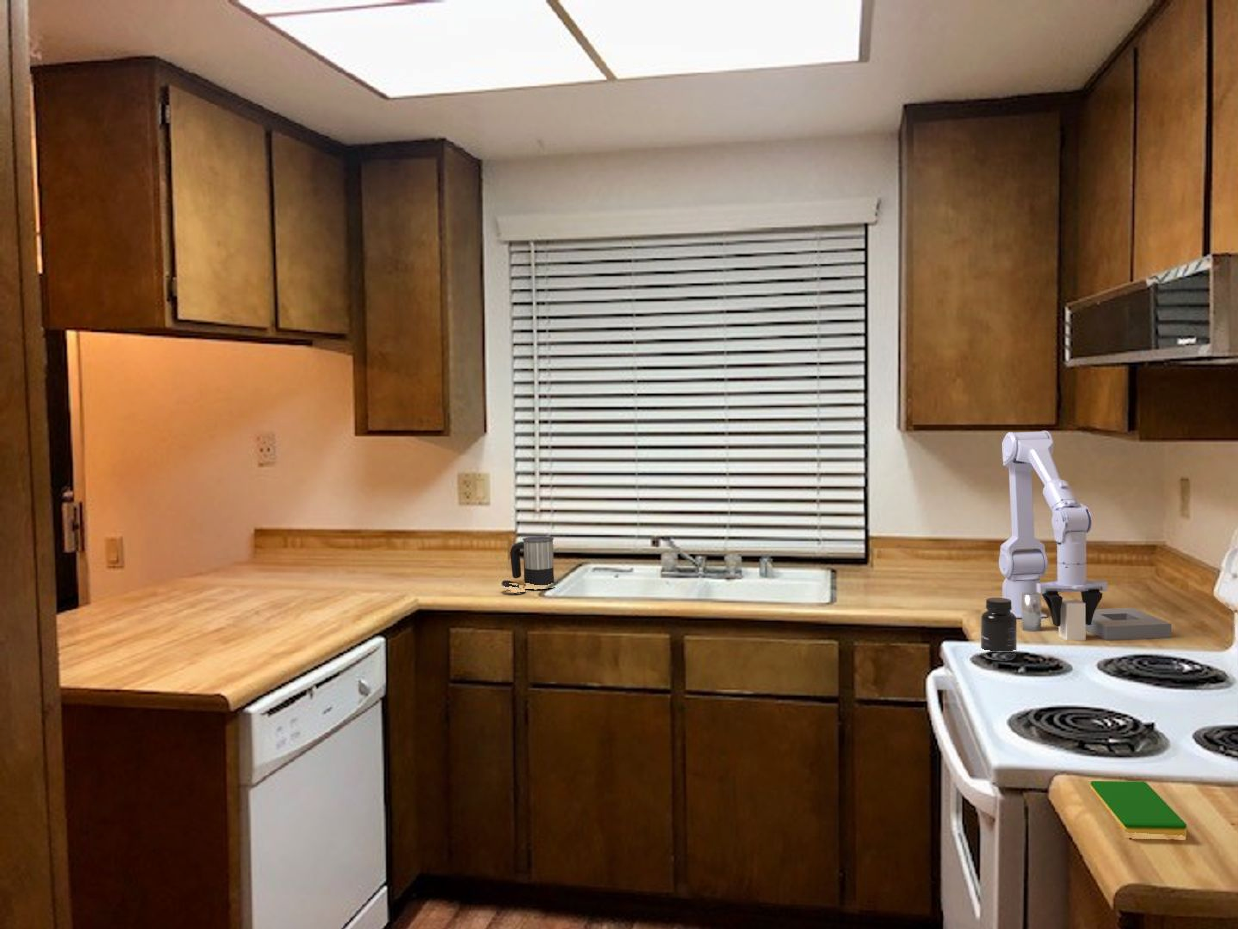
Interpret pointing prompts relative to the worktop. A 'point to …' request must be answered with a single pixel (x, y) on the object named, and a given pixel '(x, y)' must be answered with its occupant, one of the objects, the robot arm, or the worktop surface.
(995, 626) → the supplement bottle
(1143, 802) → the dish sponge
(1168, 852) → the worktop surface
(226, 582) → the worktop surface
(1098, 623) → the socket plate
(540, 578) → the milk frother
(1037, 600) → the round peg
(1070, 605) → the square peg
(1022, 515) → the robot arm
